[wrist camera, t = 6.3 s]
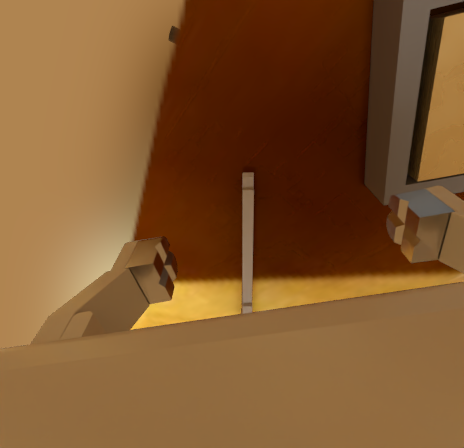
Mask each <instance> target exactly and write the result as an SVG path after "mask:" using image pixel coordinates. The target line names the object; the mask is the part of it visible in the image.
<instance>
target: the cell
mask: <svg viewBox="0 0 464 448" xmlns="http://www.w3.org/2000/svg"><path fill="white" fill-rule="evenodd" d="M177 32H178V28H177V27H175V26H172V27H171V30H170V33H169V41H170V42H172V43H174V44H175V38H176V35H177Z"/></svg>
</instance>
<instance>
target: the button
mask: <svg viewBox="0 0 464 448" xmlns="http://www.w3.org/2000/svg"><path fill="white" fill-rule="evenodd" d="M463 173H464V8H461V9H456V10H452V11H448V12H444V13H440V14H436V15H432V16H429V23H428V30H427V37H426V44H425V51H424V58H423V65H422V72H421V79H420V86H419V94H418V101H417V108H416V115H415V122H414V129H413V136H412V143H411V150H410V157H409V164H408V171H407V174H408V175H410V176H411V177H412V178H414V179H415V180H416V181H417V182H418V181H423V180H429V179H435V178H440V177H446V176H451V175H457V174H463Z"/></svg>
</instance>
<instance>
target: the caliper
mask: <svg viewBox="0 0 464 448" xmlns="http://www.w3.org/2000/svg"><path fill="white" fill-rule="evenodd" d="M253 219H254V172H242V308H241V314H245V313H252V275H253Z"/></svg>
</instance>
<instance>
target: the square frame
mask: <svg viewBox="0 0 464 448" xmlns="http://www.w3.org/2000/svg"><path fill="white" fill-rule="evenodd" d="M463 1H464V0H374V5H373V25H372V44H371V64H370V83H369V102H368V122H367V141H366V160H365V180H364V184H365V186H366V187H367V188H368V189H369V190H370V191H371V192H372V193H373V194H374V195H375V197H376V198H377V199H378V200H379V201H380V202H381V203H382V204H383V205H388V204H389V199H390V197H391V195H396V194H401V193H406V192H411V191H416V190H421V189H425V188H429V187H434V186H443V187H444V188H446V189H447V190H449V191H450V192H451V193H453V194H454V193H460V192H464V173H463V174H457V175H451V176H446V177H440V178H435V179H429V180H423V181H418V182H417V181H416V180H415V179H414V178H412V177H411V176H410V175H408V174H407V171H408V164H409V157H410V150H411V143H412V136H413V129H414V122H415V115H416V108H417V101H418V94H419V86H420V79H421V72H422V65H423V58H424V51H425V44H426V37H427V30H428V23H429V16H430V9H434V8H438V7H442V6H446V5H450V4H454V3H459V2H463Z"/></svg>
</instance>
